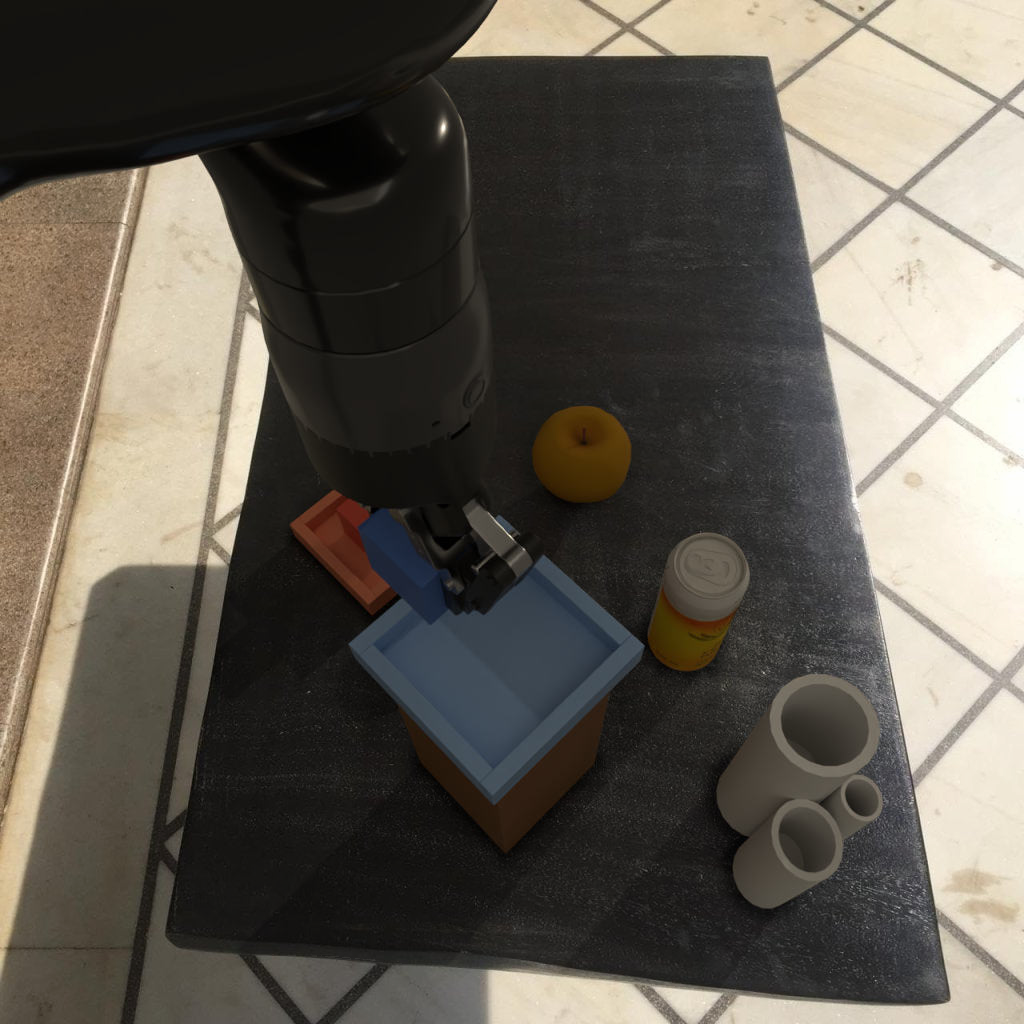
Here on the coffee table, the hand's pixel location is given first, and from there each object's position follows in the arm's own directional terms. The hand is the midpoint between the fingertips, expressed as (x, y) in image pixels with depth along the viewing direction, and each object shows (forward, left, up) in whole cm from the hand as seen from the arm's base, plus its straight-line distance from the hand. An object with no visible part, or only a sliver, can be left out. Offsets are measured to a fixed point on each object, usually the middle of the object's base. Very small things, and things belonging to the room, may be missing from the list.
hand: (432, 565), depth 49 cm
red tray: (+7, +20, -34) cm, 41 cm away
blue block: (0, 0, 0) cm, 0 cm away
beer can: (+19, -6, -35) cm, 40 cm away
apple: (+24, +11, -35) cm, 44 cm away
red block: (+7, +20, -34) cm, 40 cm away
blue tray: (+1, -3, -34) cm, 35 cm away
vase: (+12, -21, -35) cm, 42 cm away
